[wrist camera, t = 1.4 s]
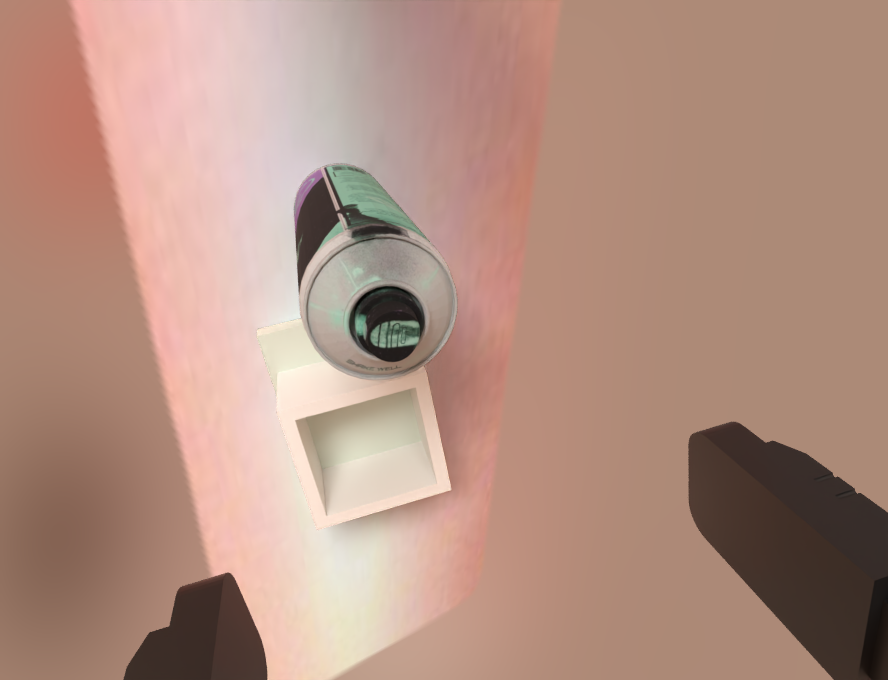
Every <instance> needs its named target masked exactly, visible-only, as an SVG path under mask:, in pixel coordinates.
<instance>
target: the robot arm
mask: <svg viewBox="0 0 888 680" xmlns="http://www.w3.org/2000/svg"><path fill="white" fill-rule="evenodd" d="M689 506H690V510H691V514H692V517H693V519H694V521H695V523H696V525H697V527H698V529H699V531H700V532H701V533H702V535H703V536H704V537H705V538H706V540H707V541H708V542H709V543H710V544H711V545H712V546H713V547H714V548H715V550H716V551H717V552H718V553H719V554H720V555H721V556H722V557H723V558H724V559H725V560H726V562H727V563H728V564H729V565H730V566H731V567H732V568H733V569H734V570H735V572H736V573H737V574H738V575H739V576H740V577H741V578H742V579H743V580H744V581H745V583H746V584H747V585H748V586H749V587H750V588H751V589H752V590H753V591H754V592H755V593H756V595H757V596H758V597H759V598H760V599H761V600H762V601H763V602H764V603H765V604H766V606H767V607H768V608H769V609H770V610H771V611H772V612H773V613H774V614H775V615H776V617H777V618H778V619H779V620H780V621H781V622H782V623H783V624H784V625H785V626H786V628H787V629H788V630H789V631H790V632H791V633H792V634H793V635H794V636H795V637H796V639H797V640H798V641H799V642H800V643H801V644H802V645H803V646H804V647H805V648H806V650H807V651H808V652H809V653H810V654H811V655H812V656H813V657H814V658H815V659H816V660H817V661H818V663H819V664H820V665H821V666H822V667H823V668H824V669H825V670H826V671H827V673H828V674H829V675H830V676H831V677H832V678H833V679H834V680H888V513H887V512H886V511H885V510H883V509H882V508H881V507H879V506H878V505H877V504H875V503H874V502H872V501H871V500H870V499H868V498H867V497H865V496H864V495H863V494H861V493H858V494H857V493H856V492H855V489H854V488H853V487H852V486H850V485H849V484H847V483H846V482H845V481H843V480H842V479H840V478H839V477H834V476H833V473H832V472H831V471H829V470H828V469H827V468H825V467H824V466H822V465H821V464H820V463H818V462H817V461H816V460H814V459H813V458H811V457H810V456H809V455H807V454H806V453H803V452H801V451H798V450H795V449H793V448H791V447H788V446H785V445H783V444H780V443H778V442H775V441H770V442H767V443H765V442H764V441H763V440H761V439H760V438H759V437H757V436H756V435H755V434H753V433H752V432H751V431H749V430H748V429H747V428H746V427H744V426H743V425H741V424H740V423H737V422H729V423H726V424H722V425H719V426H716V427H712V428H709V429H706V430H703V431H699V432H696V433H694V434H692V435H691V436H690V439H689ZM124 680H267V665H266V658H265V652H264V648H263V644H262V641H261V638H260V635H259V633H258V630H257V628H256V626H255V624H254V621H253V619H252V617H251V615H250V612H249V610H248V608H247V605H246V603H245V601H244V599H243V596H242V594H241V592H240V589H239V587H238V585H237V583H236V580H235V578H234V577H233V575H232V574H231V573H225V574H221V575H218V576H215V577H211V578H208V579H205V580H201V581H198V582H195V583H192V584H188V585H185V586H182V587H180V588H179V590H178V591H177V594H176V598H175V603H174V607H173V612H172V617H171V621H170V626H169V627H166V628H163V629H159V630H156V631H153V632H150V633H149V634H148V635H147V637H146V638H145V640H144V642H143V643H142V645H141V646H140V648H139V649H138V651H137V652H136V654H135V656H134V657H133V658H132V660H131V662H130V663H129V665H128V666H127V669H126V673H125V676H124Z"/></svg>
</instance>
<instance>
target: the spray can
mask: <svg viewBox="0 0 888 680" xmlns="http://www.w3.org/2000/svg"><path fill="white" fill-rule="evenodd" d="M294 217H295V234H296V251H297V269H298V286H299V303H300V315H301V319H302V322H303V326H304V329H305V331H306V333H307V335H308V337H309V339H310V341H311V343H312V345H313V347H314V348H315V350H316V351H317V352H318V353H319V354H320V356H321V357H322V358H323V359H324V360H325V361H326V362H328V363H329V364H330V365H331V366H333V367H334V368H335V369H337V370H339V371H341V372H343V373H345V374H347V375H350V376H353V377H356V378H360V379H367V380H389V379H394V378H398V377H402V376H405V375H407V374H409V373H412V372H414V371H416V370H418V369H419V368H421V367H422V366H424V365H425V364H427V363H428V362H430V361H431V360H432V359H433V358H434V357H435V356H436V355H437V354H438V353H439V352H440V350H441V349H442V348H443V346H444V345H445V343H446V342H447V341H448V339H449V336H450V334H451V332H452V330H453V328H454V324H455V320H456V316H457V302H458V300H457V293H456V287H455V284H454V281H453V278H452V276H451V273H450V270H449V268H448V265H447V264H446V262H445V261H444V259H443V257H442V256H441V254H440V253H439V252H438V251H437V249H436V248H435V247H434V246H433V245H432V244H431V243H430V241H429V240H428V239H427V238H426V237H425V236H424V235H423V233H422V232H421V231H420V230H419V229H418V228H417V227H416V225H415V224H414V223H413V222H412V221H411V220H410V219H409V217H408V216H407V215H406V214H405V213H404V212H403V210H402V209H401V208H400V207H399V206H398V205H397V204H396V202H395V201H394V200H393V199H392V198H391V197H390V196H389V194H388V193H387V192H386V191H385V190H384V189H383V188H382V186H381V185H380V184H379V183H378V182H377V181H376V180H375V179H374V178H373V177H372V176H371V175H370V174H368V173H367V172H366V171H364V170H363V169H360V168H358V167H356V166H353V165H348V164H331V165H326V166H323V167H321V168H319V169H317V170H315V171H314V172H312V173H311V174H310V175H309V176H308V177H307V178H306V179H305V180H304V181H303V183H302V184H301V186H300V188H299V190H298V192H297V195H296V198H295V204H294Z"/></svg>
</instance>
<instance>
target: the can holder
mask: <svg viewBox="0 0 888 680" xmlns="http://www.w3.org/2000/svg"><path fill="white" fill-rule="evenodd" d="M257 339H258V342H259V345H260V348H261V351H262V354H263V357H264V360H265V363H266V366H267V369H268V372H269V375H270V378H271V381H272V384H273V387H274V390H275V392H276V395H277V409H276V412H277V415H278V418H279V421H280V424H281V427H282V430H283V433H284V436H285V439H286V442H287V444H288V447H289V450H290V453H291V456H292V459H293V462H294V465H295V468H296V471H297V474H298V476H299V479H300V482H301V485H302V488H303V491H304V494H305V497H306V500H307V503H308V506H309V508H310V511H311V514H312V517H313V520H314V523H315V526H316V529H317V530H319V529H323V528H326V527H329V526H333V525H336V524H339V523H343V522H346V521H349V520H353V519H356V518H360V517H363V516H366V515H370V514H373V513H376V512H380V511H383V510H386V509H390V508H393V507H396V506H400V505H403V504H406V503H410V502H413V501H416V500H420V499H423V498H427V497H430V496H433V495H437V494H440V493H443V492H447V491H450V490H451V485H450V480H449V475H448V471H447V466H446V461H445V457H444V452H443V447H442V442H441V438H440V433H439V428H438V424H437V419H436V414H435V409H434V405H433V400H432V395H431V391H430V386H429V381H428V376H427V372H426V370H425V366H422V367H421V368H419V369H418V370H416V371H414V372H412V373H409V374H407V375H405V376H402V377H398V378H394V379H389V380H367V379H360V378H356V377H353V376H350V375H347V374H345V373H343V372H341V371H339V370H337V369H335V368H334V367H333V366H331V365H330V364H329V363H328V362H326V361H325V360H324V359H323V358H322V357H321V356H320V354H319V353H318V352H317V351H316V350H315V348H314V347H313V345H312V343H311V341H310V339H309V337H308V335H307V333H306V331H305V329H304V326H303V322H302V319H301V318H300V319H296V320H292V321H288V322H284V323H280V324H276V325H272V326H268V327H264V328H260V329H257Z"/></svg>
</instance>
